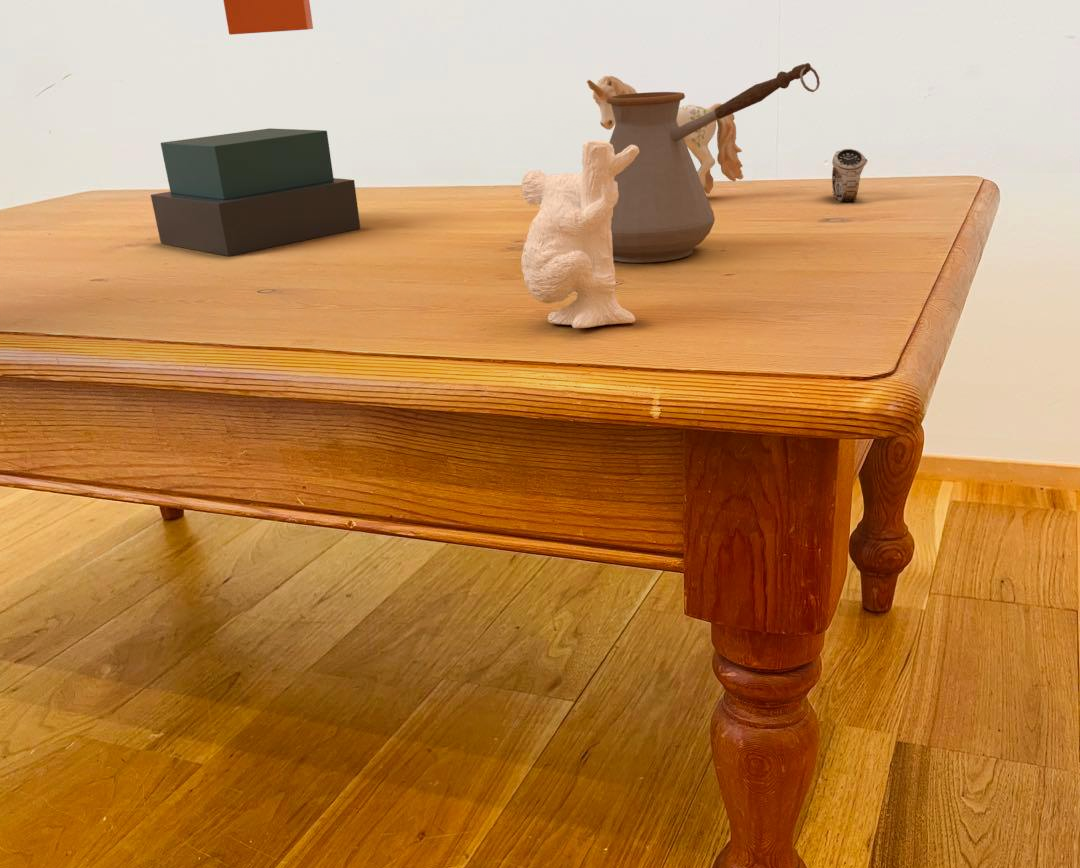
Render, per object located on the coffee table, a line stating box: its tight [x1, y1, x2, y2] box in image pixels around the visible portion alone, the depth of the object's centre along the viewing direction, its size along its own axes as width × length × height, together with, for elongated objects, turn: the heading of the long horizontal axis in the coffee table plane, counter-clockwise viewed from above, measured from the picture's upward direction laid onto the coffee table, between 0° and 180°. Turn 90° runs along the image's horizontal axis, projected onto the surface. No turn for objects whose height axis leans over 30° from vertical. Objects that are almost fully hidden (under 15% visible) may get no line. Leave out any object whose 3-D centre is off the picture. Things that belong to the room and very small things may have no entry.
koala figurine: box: [520, 139, 639, 329], centre depth 71 cm, size 8×7×12 cm
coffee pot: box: [607, 62, 821, 263], centre depth 87 cm, size 21×12×15 cm, turn 47°
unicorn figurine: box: [586, 75, 744, 195], centre depth 114 cm, size 7×20×13 cm, turn 117°
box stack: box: [150, 127, 361, 257], centre depth 112 cm, size 16×14×10 cm
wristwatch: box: [831, 148, 868, 203], centre depth 112 cm, size 4×6×5 cm, turn 178°
